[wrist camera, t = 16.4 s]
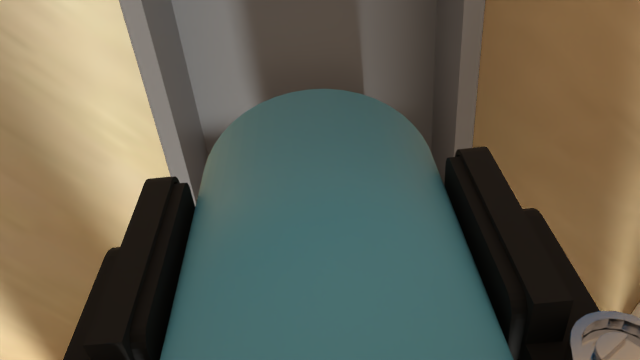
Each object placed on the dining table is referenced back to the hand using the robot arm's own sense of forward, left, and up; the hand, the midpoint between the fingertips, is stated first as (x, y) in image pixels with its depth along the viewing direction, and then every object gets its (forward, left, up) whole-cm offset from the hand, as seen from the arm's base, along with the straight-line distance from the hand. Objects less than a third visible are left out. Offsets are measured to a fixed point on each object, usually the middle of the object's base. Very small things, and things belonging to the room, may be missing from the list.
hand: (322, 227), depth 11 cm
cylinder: (0, 0, -1) cm, 1 cm away
